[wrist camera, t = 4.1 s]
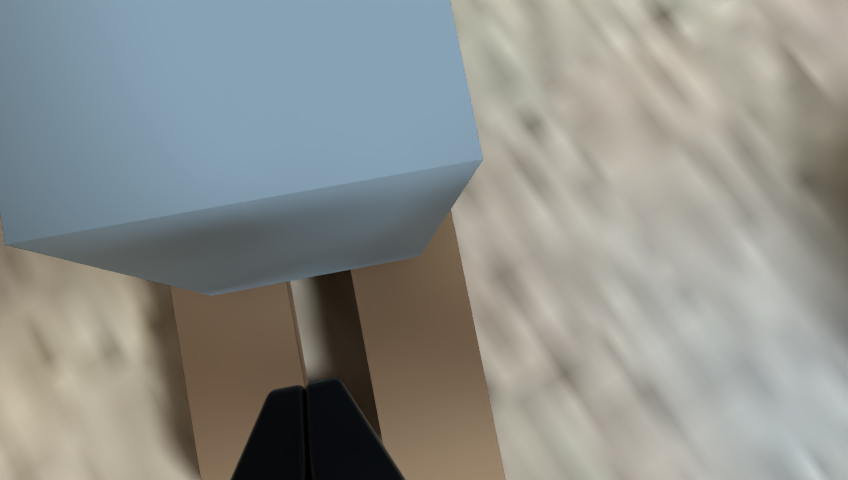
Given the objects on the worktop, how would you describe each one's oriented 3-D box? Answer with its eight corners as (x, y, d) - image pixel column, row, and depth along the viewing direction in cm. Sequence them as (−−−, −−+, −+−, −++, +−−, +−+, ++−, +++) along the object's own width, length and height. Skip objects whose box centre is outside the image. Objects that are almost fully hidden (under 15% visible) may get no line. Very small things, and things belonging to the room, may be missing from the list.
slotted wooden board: (494, 463, 18) (511, 481, 16) (226, 522, 18) (206, 548, 15) (356, -221, 20) (354, -287, 18) (110, -189, 19) (78, -254, 17)
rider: (416, 261, 17) (483, 159, 7) (222, 298, 17) (4, 244, 7) (383, 93, 18) (402, -225, 8) (193, 125, 17) (-52, -166, 7)
